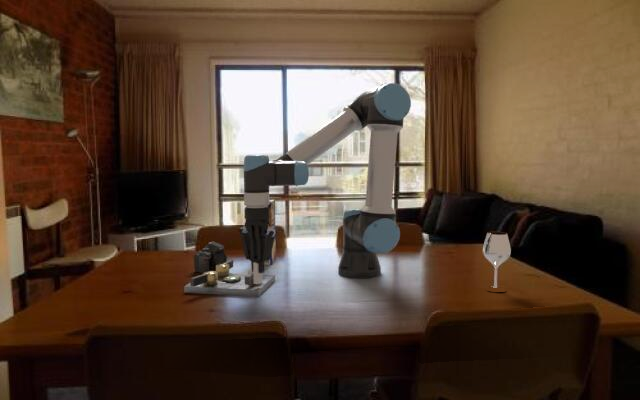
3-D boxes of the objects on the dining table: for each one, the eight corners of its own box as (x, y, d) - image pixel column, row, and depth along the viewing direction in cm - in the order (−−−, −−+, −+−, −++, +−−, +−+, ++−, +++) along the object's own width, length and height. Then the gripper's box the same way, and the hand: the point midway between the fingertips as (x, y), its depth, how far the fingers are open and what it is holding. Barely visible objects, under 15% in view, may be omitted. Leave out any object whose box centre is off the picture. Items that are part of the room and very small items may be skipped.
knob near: (210, 280, 154) (210, 270, 154) (220, 282, 152) (220, 271, 152) (186, 288, 146) (186, 277, 145) (197, 290, 143) (197, 279, 143)
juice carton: (271, 265, 185) (270, 202, 182) (252, 264, 185) (251, 202, 183) (275, 258, 197) (275, 199, 194) (257, 258, 197) (256, 199, 195)
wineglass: (496, 295, 145) (498, 236, 143) (475, 288, 152) (477, 232, 150) (515, 291, 149) (517, 234, 147) (494, 285, 156) (496, 230, 154)
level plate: (275, 280, 162) (275, 271, 162) (258, 296, 144) (258, 286, 144) (208, 277, 167) (207, 268, 166) (183, 292, 149) (183, 283, 148)
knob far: (226, 276, 159) (226, 266, 158) (214, 276, 160) (213, 266, 159) (237, 269, 169) (237, 259, 168) (225, 268, 169) (225, 259, 169)
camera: (216, 274, 171) (215, 247, 170) (191, 272, 173) (190, 245, 172) (232, 265, 184) (231, 240, 183) (208, 264, 186) (207, 239, 185)
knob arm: (250, 278, 157) (250, 268, 156) (263, 279, 156) (263, 268, 155) (240, 287, 147) (239, 276, 146) (254, 287, 146) (253, 276, 145)
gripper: (282, 206, 145) (282, 282, 147) (247, 203, 151) (248, 277, 153) (267, 208, 138) (268, 288, 141) (231, 206, 144) (233, 283, 147)
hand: (258, 282), depth 147 cm, fingers closed
